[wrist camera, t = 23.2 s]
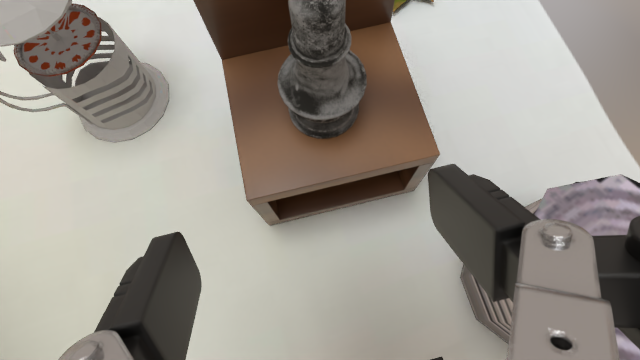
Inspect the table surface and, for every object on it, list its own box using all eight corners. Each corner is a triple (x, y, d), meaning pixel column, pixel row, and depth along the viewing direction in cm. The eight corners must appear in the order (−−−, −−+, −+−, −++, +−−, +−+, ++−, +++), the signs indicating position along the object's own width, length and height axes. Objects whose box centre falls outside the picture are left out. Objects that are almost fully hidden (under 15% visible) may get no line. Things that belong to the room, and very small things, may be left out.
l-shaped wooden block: (414, 190, 34) (493, 81, 17) (269, 225, 33) (199, 149, 16) (375, 74, 38) (407, -107, 21) (245, 104, 38) (170, -58, 20)
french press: (187, 99, 38) (-57, -230, 14) (96, 172, 36) (-373, -75, 12) (135, 45, 41) (-148, -311, 17) (46, 111, 38) (-423, -194, 15)
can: (491, 370, 29) (591, 417, 18) (440, 234, 32) (496, 200, 21) (622, 331, 29) (804, 352, 18) (558, 202, 33) (675, 151, 22)
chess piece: (357, 69, 28) (373, -90, 16) (367, 138, 26) (393, 13, 15) (282, 77, 28) (245, -76, 16) (287, 146, 26) (249, 28, 15)
